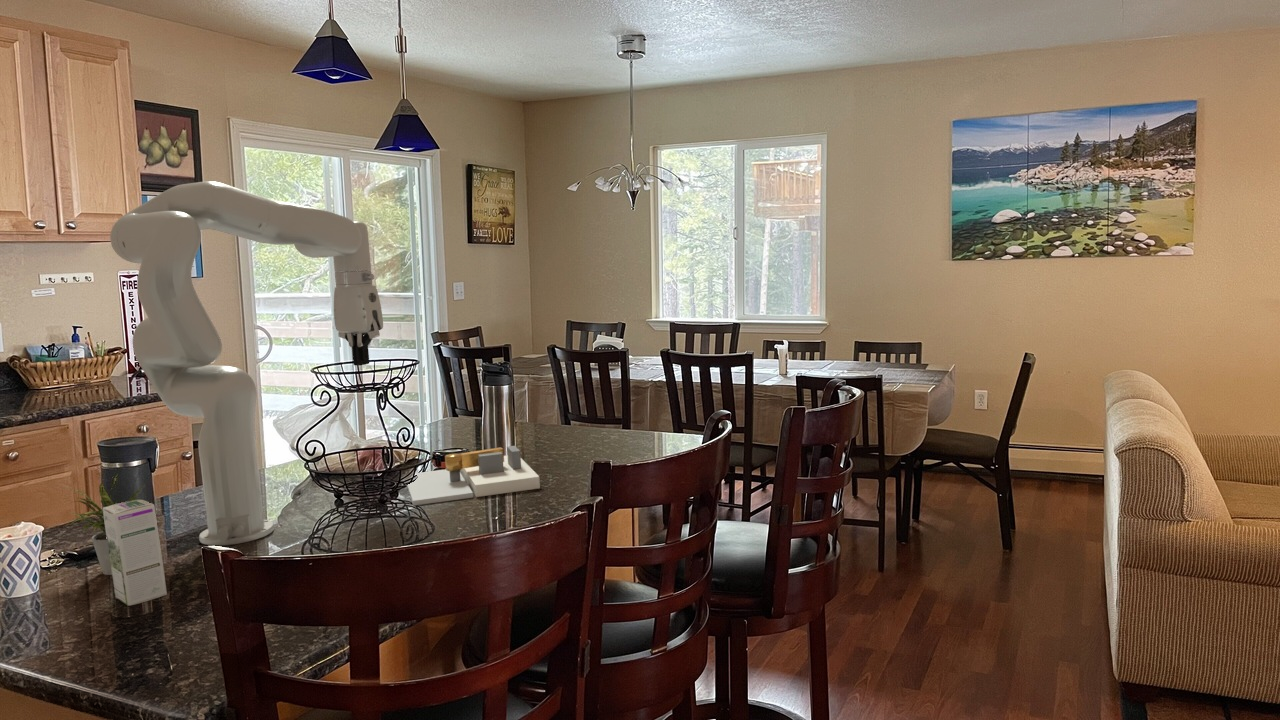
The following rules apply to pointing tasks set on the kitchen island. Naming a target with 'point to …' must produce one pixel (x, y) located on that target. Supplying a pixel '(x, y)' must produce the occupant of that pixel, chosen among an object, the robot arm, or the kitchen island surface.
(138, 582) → the syrup box
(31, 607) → the kitchen island surface
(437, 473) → the door mock-up
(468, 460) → the latch bar
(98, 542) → the house plant
